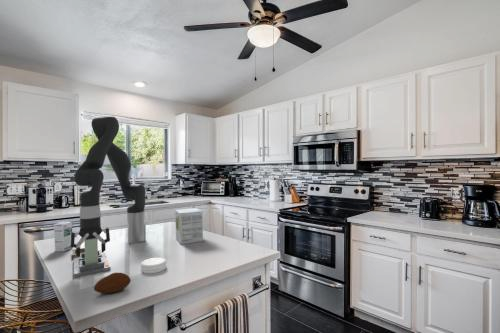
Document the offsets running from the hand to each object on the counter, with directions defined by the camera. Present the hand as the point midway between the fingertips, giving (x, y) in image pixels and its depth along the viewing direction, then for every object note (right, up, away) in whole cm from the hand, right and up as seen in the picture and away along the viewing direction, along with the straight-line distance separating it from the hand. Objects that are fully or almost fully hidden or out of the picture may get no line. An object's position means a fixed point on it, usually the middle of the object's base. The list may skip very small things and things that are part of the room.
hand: (91, 254), depth 114 cm
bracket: (-16, -7, +21) cm, 27 cm away
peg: (0, -5, 0) cm, 5 cm away
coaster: (+26, -7, 0) cm, 27 cm away
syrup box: (-32, -7, +29) cm, 44 cm away
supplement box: (+32, -6, +43) cm, 54 cm away
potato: (+19, -7, -20) cm, 29 cm away
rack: (-3, -7, +5) cm, 9 cm away
